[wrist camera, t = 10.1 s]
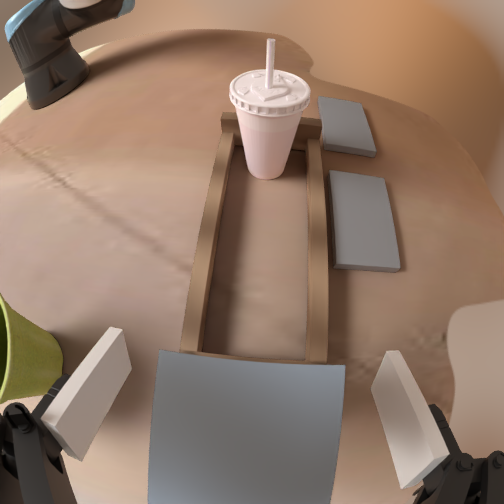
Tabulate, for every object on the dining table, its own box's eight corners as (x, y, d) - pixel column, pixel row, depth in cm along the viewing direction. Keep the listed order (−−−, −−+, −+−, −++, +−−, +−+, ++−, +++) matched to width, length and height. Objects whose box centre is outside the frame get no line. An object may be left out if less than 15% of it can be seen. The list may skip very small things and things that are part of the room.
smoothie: (226, 183, 26) (212, 49, 14) (243, 141, 29) (240, 23, 17) (292, 196, 26) (316, 60, 13) (301, 151, 28) (320, 32, 16)
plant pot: (97, 374, 19) (27, 363, 11) (43, 429, 16) (-24, 431, 8) (50, 295, 21) (-10, 258, 14) (3, 351, 18) (-56, 330, 11)
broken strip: (317, 101, 33) (318, 95, 32) (359, 108, 33) (361, 103, 32) (333, 268, 23) (336, 263, 22) (395, 272, 22) (400, 268, 22)
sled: (225, 137, 29) (214, 12, 16) (315, 144, 29) (340, 21, 15) (178, 415, 17) (46, 462, 4) (316, 426, 17) (433, 496, 4)
